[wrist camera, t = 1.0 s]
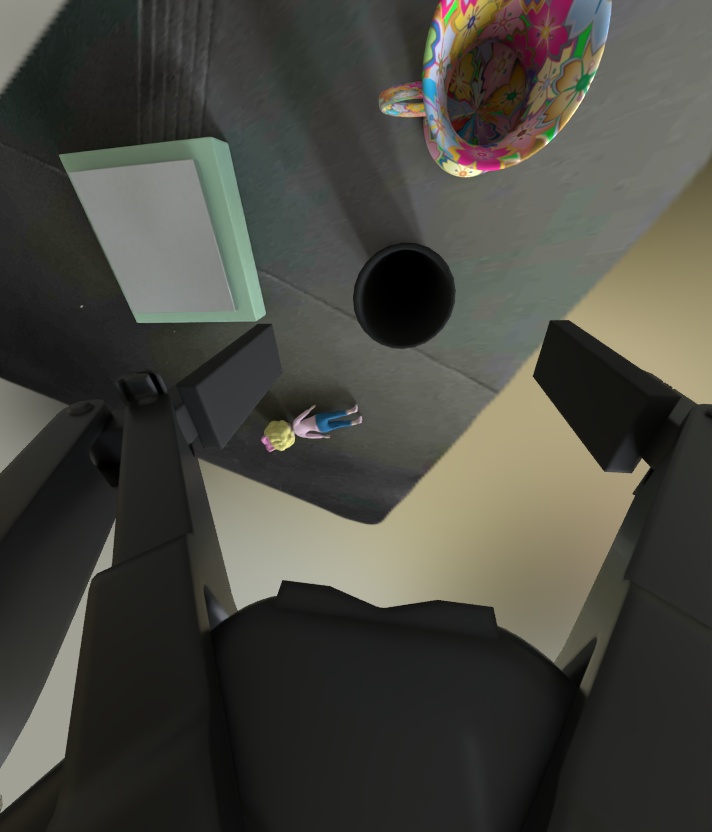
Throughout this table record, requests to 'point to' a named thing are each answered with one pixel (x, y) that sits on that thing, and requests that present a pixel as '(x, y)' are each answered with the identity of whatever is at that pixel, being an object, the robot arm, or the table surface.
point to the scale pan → (159, 235)
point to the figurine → (304, 428)
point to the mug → (501, 78)
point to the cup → (404, 295)
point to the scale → (224, 210)
